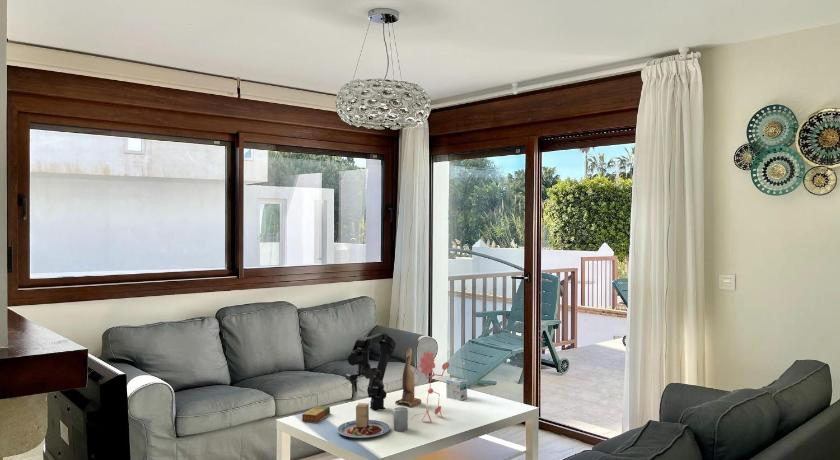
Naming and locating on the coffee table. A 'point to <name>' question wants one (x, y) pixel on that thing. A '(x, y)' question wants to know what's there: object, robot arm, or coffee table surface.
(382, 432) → the ceramic plate
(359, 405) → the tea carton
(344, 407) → the coffee table surface
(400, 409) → the grey tapered cylinder
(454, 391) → the light bulb box
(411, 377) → the bird sculpture
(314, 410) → the carton
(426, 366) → the figurine
